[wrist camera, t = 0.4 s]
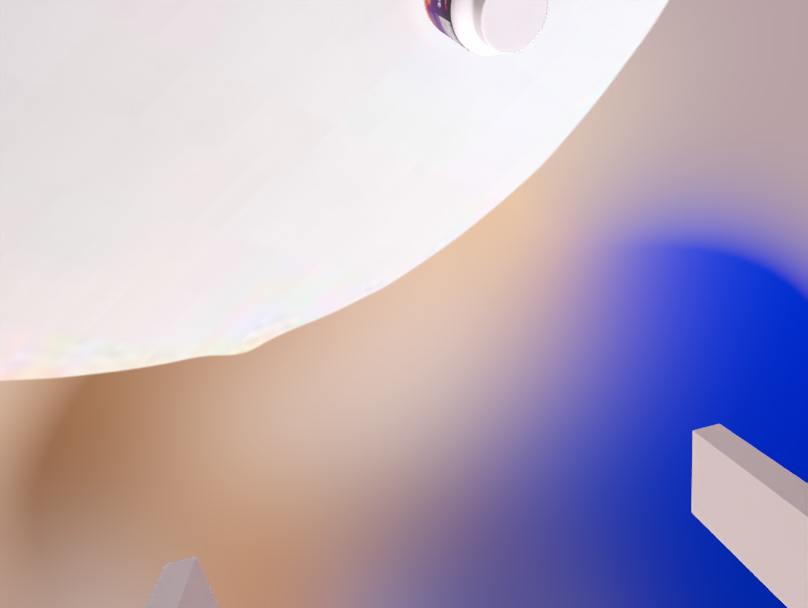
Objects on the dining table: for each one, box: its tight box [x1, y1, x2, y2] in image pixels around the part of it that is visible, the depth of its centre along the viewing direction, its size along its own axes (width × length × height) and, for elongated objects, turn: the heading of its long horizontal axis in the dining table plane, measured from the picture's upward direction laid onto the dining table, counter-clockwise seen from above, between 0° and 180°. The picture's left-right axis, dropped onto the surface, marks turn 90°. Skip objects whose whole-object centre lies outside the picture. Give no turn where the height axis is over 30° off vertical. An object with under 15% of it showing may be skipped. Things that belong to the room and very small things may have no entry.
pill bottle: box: [423, 0, 548, 56], centre depth 29 cm, size 5×5×10 cm
